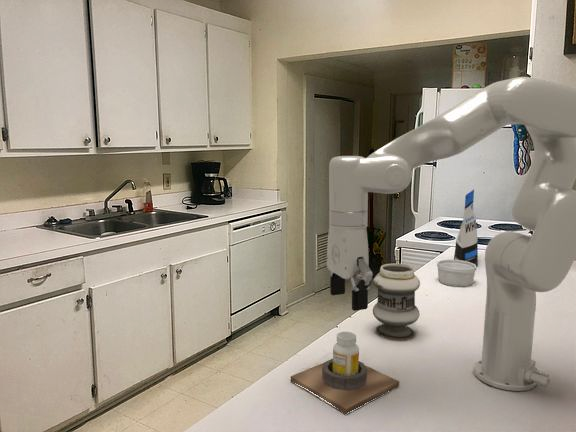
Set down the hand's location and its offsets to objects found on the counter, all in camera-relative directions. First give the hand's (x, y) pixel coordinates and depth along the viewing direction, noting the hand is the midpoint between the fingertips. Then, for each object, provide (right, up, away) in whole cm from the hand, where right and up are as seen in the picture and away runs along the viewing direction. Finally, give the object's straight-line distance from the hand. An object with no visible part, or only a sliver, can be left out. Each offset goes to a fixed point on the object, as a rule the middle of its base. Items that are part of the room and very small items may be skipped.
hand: (348, 301), depth 96 cm
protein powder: (+61, -3, +98) cm, 115 cm away
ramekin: (+48, -7, +74) cm, 88 cm away
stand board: (0, -18, +3) cm, 18 cm away
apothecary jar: (+16, -14, +29) cm, 36 cm away
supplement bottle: (0, -17, +3) cm, 17 cm away
